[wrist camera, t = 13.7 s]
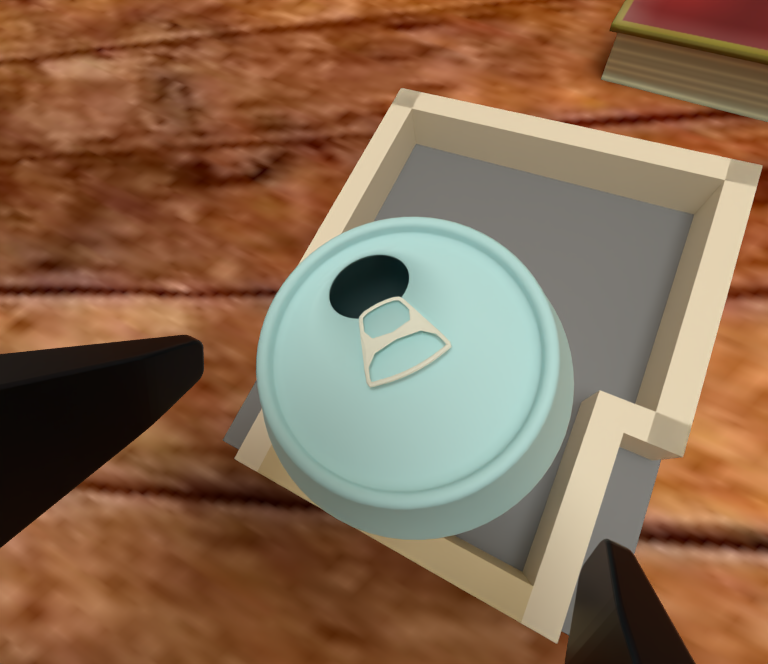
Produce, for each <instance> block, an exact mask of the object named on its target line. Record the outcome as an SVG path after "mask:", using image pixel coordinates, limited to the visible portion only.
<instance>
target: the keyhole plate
mask: <svg viewBox="0 0 768 664" xmlns="http://www.w3.org/2000/svg"><path fill="white" fill-rule="evenodd" d="M761 169H762V165H758V164H753V163H748V162H744V161H739V160H734V159H730V158H725V157H720V156H716V155H711V154H706V153H702V152H697V151H692V150H688V149H683V148H678V147H674V146H669V145H664V144H660V143H655V142H650V141H646V140H641V139H637V138H632V137H627V136H623V135H618V134H613V133H609V132H604V131H599V130H595V129H590V128H585V127H581V126H576V125H571V124H567V123H562V122H557V121H553V120H548V119H543V118H539V117H534V116H529V115H525V114H520V113H515V112H511V111H506V110H501V109H497V108H492V107H487V106H483V105H478V104H473V103H469V102H464V101H459V100H455V99H450V98H445V97H441V96H436V95H432V94H427V93H422V92H418V91H413V90H408V89H404V88H401V89H400V91H399V93H398V94H397V96H396V98H395V99H394V101H393V103H392V105H391V106H390V108H389V110H388V112H387V113H386V115H385V117H384V118H383V120H382V122H381V124H380V125H379V127H378V129H377V130H376V132H375V134H374V136H373V137H372V139H371V141H370V142H369V144H368V146H367V148H366V149H365V151H364V153H363V154H362V156H361V158H360V160H359V161H358V163H357V165H356V167H355V168H354V170H353V172H352V173H351V175H350V177H349V179H348V180H347V182H346V184H345V185H344V187H343V189H342V191H341V192H340V194H339V196H338V197H337V199H336V201H335V203H334V204H333V206H332V208H331V210H330V211H329V213H328V215H327V216H326V218H325V220H324V222H323V223H322V225H321V227H320V228H319V230H318V232H317V234H316V235H315V237H314V239H313V240H312V242H311V244H310V246H309V247H308V249H307V251H306V253H305V254H304V256H303V258H302V259H301V261H300V263H301V262H302V261H303V260H304V259H305V258H307V257H308V256H309V255H310V254H311V253H312V252H314V251H315V250H316V249H317V248H319V247H320V246H322V245H323V244H325V243H326V242H328V241H329V240H331V239H332V238H334V237H336V236H338V235H340V234H342V233H344V232H346V231H348V230H350V229H353V228H355V227H358V226H361V225H364V224H367V223H370V222H374V221H378V220H383V219H389V218H397V217H430V218H437V219H443V220H448V221H452V222H456V223H459V224H462V225H465V226H468V227H471V228H473V229H475V230H477V231H479V232H482V233H484V234H485V235H487V236H489V237H491V238H492V239H494V240H496V241H497V242H498V243H500V244H501V245H503V246H504V247H506V248H507V249H508V250H509V251H510V252H511V253H513V254H514V255H515V256H516V257H517V258H518V259H519V260H520V261H521V262H522V263H523V264H524V265H525V266H526V267H527V269H528V270H529V271H530V272H531V274H532V275H533V276H534V277H535V279H536V281H537V282H538V284H539V285H540V287H541V288H542V290H543V292H544V294H545V295H546V297H547V298H548V300H549V301H550V303H551V304H552V306H553V308H554V309H555V311H556V313H557V315H558V317H559V319H560V321H561V323H562V326H563V329H564V331H565V334H566V337H567V340H568V344H569V348H570V351H571V357H572V364H573V372H574V396H573V406H572V412H571V418H570V421H569V425H568V428H567V432H566V435H565V437H564V440H563V442H562V445H561V447H560V450H559V451H558V453H557V455H556V457H555V459H554V461H553V463H552V464H551V466H550V467H549V469H548V470H547V472H546V473H545V474H544V476H543V477H542V479H541V480H540V481H539V482H538V483H537V485H536V486H535V487H534V488H533V489H532V490H531V491H530V492H529V493H528V494H527V495H526V496H525V497H524V498H523V499H522V500H521V501H520V502H518V503H517V504H516V505H515V506H513V507H512V508H511V509H509V510H508V511H507V512H505V513H504V514H502V515H500V516H499V517H497V518H495V519H494V520H492V521H490V522H488V523H486V524H484V525H482V526H479V527H477V528H475V529H472V530H470V531H466V532H463V533H460V534H457V535H453V536H448V537H443V538H437V539H426V540H403V539H395V538H388V537H383V536H379V535H375V534H371V533H368V532H365V531H362V530H359V529H357V528H356V529H357V530H359V531H361V532H363V533H364V534H366V535H368V536H370V537H371V538H373V539H375V540H377V541H378V542H380V543H382V544H384V545H385V546H387V547H389V548H391V549H392V550H394V551H396V552H398V553H399V554H401V555H403V556H405V557H406V558H408V559H410V560H412V561H413V562H415V563H417V564H419V565H420V566H422V567H424V568H426V569H427V570H429V571H431V572H433V573H434V574H436V575H438V576H439V577H441V578H443V579H445V580H446V581H448V582H450V583H452V584H453V585H455V586H457V587H459V588H460V589H462V590H464V591H466V592H467V593H469V594H471V595H473V596H474V597H476V598H478V599H480V600H481V601H483V602H485V603H487V604H488V605H490V606H492V607H494V608H495V609H497V610H499V611H501V612H502V613H504V614H506V615H508V616H509V617H511V618H513V619H515V620H516V621H518V622H520V623H521V624H523V625H525V626H527V627H528V628H530V629H532V630H534V631H535V632H537V633H539V634H541V635H542V636H544V637H546V638H548V639H549V640H551V641H553V642H555V643H556V644H557V643H558V640H559V637H560V634H561V631H562V632H564V633H566V634H567V635H569V633H570V627H571V621H572V615H573V609H574V603H575V597H576V591H577V585H578V579H579V575H580V571H581V569H582V567H583V565H584V563H585V562H586V560H587V559H588V558H589V556H590V555H591V554H592V552H593V551H594V549H595V548H596V547H597V545H598V544H599V543H600V541H602V540H603V539H610V540H612V541H614V542H616V543H619V544H621V545H623V546H625V547H627V548H628V549H630V550H631V551H632V553H633V554H634V553H635V549H636V546H637V542H638V539H639V535H640V532H641V528H642V525H643V521H644V518H645V514H646V511H647V507H648V504H649V500H650V497H651V493H652V490H653V486H654V483H655V479H656V476H657V472H658V469H659V465H660V462H661V460H662V459H671V458H679V457H683V455H684V452H685V448H686V444H687V441H688V437H689V433H690V430H691V426H692V422H693V419H694V415H695V411H696V408H697V404H698V400H699V397H700V393H701V389H702V386H703V382H704V378H705V375H706V371H707V367H708V364H709V360H710V356H711V353H712V349H713V345H714V342H715V338H716V334H717V331H718V327H719V323H720V320H721V316H722V312H723V309H724V305H725V301H726V298H727V294H728V290H729V287H730V283H731V279H732V276H733V272H734V268H735V265H736V261H737V257H738V254H739V250H740V246H741V243H742V239H743V235H744V232H745V228H746V224H747V221H748V217H749V213H750V210H751V206H752V202H753V199H754V195H755V191H756V188H757V184H758V180H759V177H760V173H761ZM300 263H299V264H300ZM223 441H224V442H226V443H228V444H230V445H232V446H233V447H235V448H237V449H239V451H238V452H237V454H236V456H235V458H234V459H235V460H237V461H239V462H241V463H242V464H244V465H246V466H248V467H249V468H251V469H253V470H255V471H256V472H258V473H260V474H262V475H263V476H265V477H267V478H268V479H270V480H272V481H274V482H275V483H277V484H279V485H281V486H282V487H284V488H286V489H288V490H289V491H291V492H293V493H295V494H296V495H298V496H300V497H302V498H303V499H305V500H307V501H309V502H310V503H312V504H314V505H316V504H315V503H314V502H313V501H311V500H310V499H309V498H308V497H307V496H306V495H305V494H304V493H303V492H302V491H301V490H300V488H299V487H298V486H297V485H296V484H295V482H294V481H293V480H292V479H291V477H290V476H289V474H288V473H287V471H286V470H285V468H284V467H283V465H282V464H281V462H280V460H279V458H278V456H277V454H276V452H275V450H274V448H273V446H272V443H271V441H270V438H269V436H268V432H267V429H266V425H265V422H264V416H263V411H262V406H261V403H260V399H259V393H258V388H257V380H256V382H255V384H254V386H253V387H252V389H251V391H250V393H249V395H248V396H247V398H246V400H245V402H244V403H243V405H242V407H241V409H240V410H239V412H238V414H237V416H236V418H235V419H234V421H233V423H232V425H231V426H230V428H229V430H228V432H227V433H226V435H225V437H224V439H223ZM316 506H317V507H319V506H318V505H316ZM319 508H320V507H319Z"/></svg>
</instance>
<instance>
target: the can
mask: <svg viewBox="0 0 768 664" xmlns="http://www.w3.org/2000/svg"><path fill="white" fill-rule="evenodd" d="M256 377H257V388H258V393H259V399H260V403H261V406H262V411H263V416H264V422H265V425H266V429H267V432H268V436H269V438H270V441H271V443H272V446H273V448H274V450H275V452H276V454H277V456H278V458H279V460H280V462H281V464H282V465H283V467H284V468H285V470H286V471H287V473H288V474H289V476H290V477H291V479H292V480H293V481H294V482H295V484H296V485H297V486H298V487H299V488H300V490H301V491H302V492H303V493H304V494H305V495H306V496H307V497H308V498H309V499H310V500H311V501H313V502H314V503H315V504H316V505H318V506H319V507H320V508H321V509H323V510H324V511H325V512H327V513H328V514H330V515H332V516H333V517H335V518H336V519H338V520H340V521H342V522H344V523H346V524H348V525H350V526H352V527H354V528H357V529H359V530H362V531H365V532H368V533H371V534H375V535H379V536H383V537H388V538H395V539H403V540H426V539H437V538H443V537H448V536H453V535H457V534H460V533H463V532H466V531H470V530H472V529H475V528H477V527H479V526H482V525H484V524H486V523H488V522H490V521H492V520H494V519H495V518H497V517H499V516H500V515H502V514H504V513H505V512H507V511H508V510H509V509H511V508H512V507H513V506H515V505H516V504H517V503H518V502H520V501H521V500H522V499H523V498H524V497H525V496H526V495H527V494H528V493H529V492H530V491H531V490H532V489H533V488H534V487H535V486H536V485H537V483H538V482H539V481H540V480H541V479H542V477H543V476H544V474H545V473H546V472H547V470H548V469H549V467H550V466H551V464H552V463H553V461H554V459H555V457H556V455H557V453H558V451H559V450H560V447H561V445H562V442H563V440H564V437H565V435H566V432H567V428H568V425H569V421H570V418H571V412H572V406H573V396H574V372H573V364H572V357H571V351H570V348H569V344H568V340H567V337H566V334H565V331H564V329H563V326H562V323H561V321H560V319H559V317H558V315H557V313H556V311H555V309H554V308H553V306H552V304H551V303H550V301H549V300H548V298H547V297H546V295H545V294H544V292H543V290H542V288H541V287H540V285H539V284H538V282H537V281H536V279H535V277H534V276H533V275H532V274H531V272H530V271H529V270H528V269H527V267H526V266H525V265H524V264H523V263H522V262H521V261H520V260H519V259H518V258H517V257H516V256H515V255H514V254H513V253H511V252H510V251H509V250H508V249H507V248H506V247H504V246H503V245H501V244H500V243H498V242H497V241H496V240H494V239H492V238H491V237H489V236H487V235H485V234H484V233H482V232H479V231H477V230H475V229H473V228H471V227H468V226H465V225H462V224H459V223H456V222H452V221H448V220H443V219H437V218H430V217H397V218H389V219H383V220H378V221H374V222H370V223H367V224H364V225H361V226H358V227H355V228H353V229H350V230H348V231H346V232H344V233H342V234H340V235H338V236H336V237H334V238H332V239H331V240H329V241H328V242H326V243H325V244H323V245H322V246H320V247H319V248H317V249H316V250H315V251H314V252H312V253H311V254H310V255H309V256H308V257H307V258H305V259H304V260H303V261H302V262H301V263H300V264H299V265H298V266H297V267H296V268H295V270H294V271H293V272H292V273H291V274H290V275H289V277H288V278H287V279H286V281H285V282H284V283H283V285H282V286H281V288H280V289H279V291H278V292H277V294H276V296H275V298H274V300H273V301H272V303H271V305H270V307H269V310H268V312H267V315H266V317H265V320H264V323H263V326H262V329H261V333H260V338H259V342H258V349H257V357H256Z"/></svg>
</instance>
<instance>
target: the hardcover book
mask: <svg viewBox="0 0 768 664" xmlns="http://www.w3.org/2000/svg"><path fill="white" fill-rule="evenodd" d="M610 31H612V32H617V36H616V39H615V42H614V44H613V47H612V50H611V53H610V56H609V58H608V61H607V64H606V67H605V70H604V72H603V75H602V78H601V80H605V81H609V82H613V83H617V84H621V85H625V86H628V87H632V88H636V89H640V90H644V91H648V92H652V93H656V94H660V95H664V96H668V97H672V98H676V99H680V100H684V101H687V102H691V103H695V104H699V105H703V106H707V107H711V108H715V109H719V110H723V111H727V112H731V113H735V114H739V115H742V116H746V117H750V118H754V119H758V120H762V121H766V122H768V0H626V1H625V2H624V4H623V6H622V7H621V9H620V11H619V12H618V14H617V16H616V17H615V19H614V21H613V23H612V25H611V28H610Z"/></svg>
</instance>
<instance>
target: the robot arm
mask: <svg viewBox="0 0 768 664" xmlns="http://www.w3.org/2000/svg"><path fill="white" fill-rule="evenodd" d="M203 371H204V353H203V344H202V342H200V341H199V340H197V339H195V338H193V337H191V336H188V335H178V336H168V337H159V338H149V339H140V340H130V341H121V342H111V343H102V344H92V345H83V346H73V347H64V348H55V349H45V350H36V351H26V352H17V353H7V354H0V548H1V547H2V546H3V545H5V544H6V543H7V542H8V541H10V540H11V539H12V538H13V537H15V536H16V535H17V534H18V533H19V532H21V531H22V530H23V529H24V528H26V527H27V526H28V525H29V524H31V523H32V522H33V521H34V520H36V519H37V518H38V517H39V516H41V515H42V514H43V513H44V512H46V511H47V510H48V509H49V508H50V507H52V506H53V505H54V504H55V503H57V502H58V501H59V500H60V499H62V498H63V497H64V496H65V495H67V494H68V493H69V492H70V491H72V490H73V489H74V488H75V487H77V486H78V485H79V484H80V483H81V482H83V481H84V480H85V479H86V478H88V477H89V476H90V475H91V474H93V473H94V472H95V471H96V470H98V469H99V468H100V467H101V466H103V465H104V464H105V463H106V462H108V461H109V460H110V459H111V458H112V457H114V456H115V455H116V454H117V453H119V452H120V451H121V450H122V449H124V448H125V447H126V446H127V445H129V444H130V443H131V442H132V441H134V440H135V439H136V438H137V437H139V436H140V435H141V434H142V433H143V432H145V431H146V430H147V429H148V428H149V427H151V426H152V425H153V424H154V423H155V422H156V421H157V420H158V419H159V418H160V417H161V416H162V415H163V414H164V413H166V412H167V411H168V410H169V409H170V408H171V407H172V406H173V405H174V404H175V403H176V402H177V401H178V400H179V399H180V398H181V397H182V396H183V395H184V394H185V393H186V392H187V391H188V390H189V389H190V388H191V387H192V386H193V385H194V384H195V383H196V382H198V380H199V379H200V378H201V377H202V374H203ZM565 664H696V663H695V662H694V660H693V658H692V656H691V655H690V653H689V651H688V649H687V648H686V646H685V644H684V642H683V640H682V639H681V637H680V635H679V633H678V632H677V630H676V628H675V626H674V625H673V623H672V621H671V619H670V617H669V616H668V614H667V612H666V610H665V609H664V607H663V605H662V603H661V602H660V600H659V598H658V596H657V595H656V593H655V591H654V589H653V587H652V586H651V584H650V582H649V580H648V579H647V577H646V575H645V573H644V572H643V570H642V568H641V566H640V564H639V563H638V561H637V559H636V557H635V556H634V554H633V553H632V551H631V550H630V549H628V548H627V547H625V546H623V545H621V544H619V543H616V542H614V541H612V540H610V539H603V540H602V541H600V543H599V544H598V545H597V547H596V548H595V549H594V551H593V552H592V554H591V555H590V556H589V558H588V559H587V560H586V562H585V563H584V565H583V567H582V569H581V571H580V575H579V579H578V585H577V591H576V597H575V603H574V609H573V615H572V621H571V627H570V633H569V639H568V645H567V651H566V658H565Z"/></svg>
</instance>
